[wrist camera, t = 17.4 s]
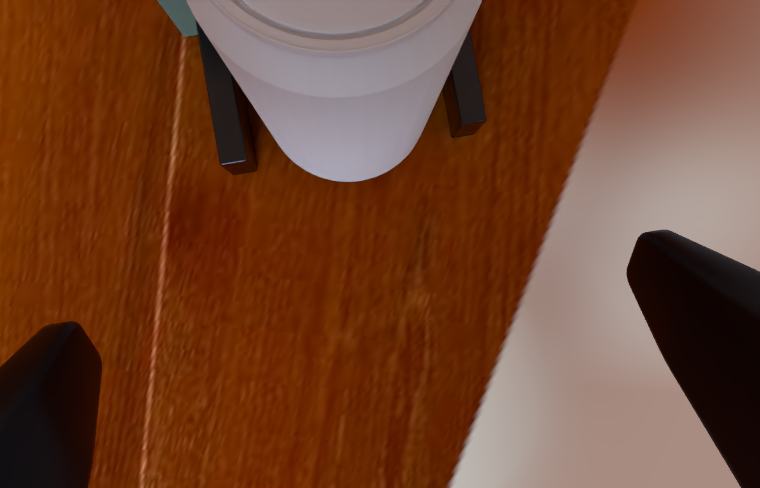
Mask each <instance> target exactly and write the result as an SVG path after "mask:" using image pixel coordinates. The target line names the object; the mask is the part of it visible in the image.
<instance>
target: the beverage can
mask: <svg viewBox="0 0 760 488" xmlns="http://www.w3.org/2000/svg"><path fill="white" fill-rule="evenodd" d="M186 1H187V3H188V5H189V7H190V9H191V11H192V13H193V15H194V17H195V19H196V20H197V22H198V23H199V25H200V26H201V28H202V29H203V31H204V33H205V34H206V36H207V37H208V39H209V40H210V42H211V43H212V45H213V46H214V48H215V49H216V51H217V52H218V54H219V55H220V57H221V58H222V60H223V61H224V63H225V64H226V66H227V67H228V69H229V70H230V72H231V73H232V75H233V77H234V78H235V80H236V81H237V83H238V84H239V86H240V87H241V89H242V90H243V92H244V93H245V95H246V96H247V98H248V99H249V101H250V102H251V104H252V105H253V107H254V108H255V110H256V111H257V113H258V114H259V116H260V117H261V119H262V121H263V122H264V124H265V125H266V127H267V128H268V130H269V131H270V133H271V134H272V136H273V137H274V139H275V140H276V142H277V143H278V145H279V146H280V148H281V149H282V150H283V152H284V153H285V154H286V155H287V156H288V157H289V158H290V159H291V160H292V161H293V162H294V163H296V164H297V165H298V166H300V167H301V168H303V169H304V170H306V171H308V172H310V173H312V174H314V175H316V176H319V177H322V178H325V179H329V180H333V181H341V182H354V181H362V180H366V179H370V178H374V177H376V176H379V175H381V174H383V173H385V172H387V171H389V170H391V169H392V168H394V167H395V166H396V165H398V164H399V163H400V162H401V161H402V160H403V159H404V158H405V157H406V156H407V155H408V154H409V153H410V152H411V151H412V149H413V148H414V146H415V144H416V143H417V141H418V139H419V137H420V136H421V134H422V132H423V129H424V127H425V125H426V123H427V121H428V118H429V116H430V114H431V112H432V110H433V108H434V105H435V103H436V101H437V99H438V97H439V94H440V92H441V90H442V88H443V86H444V83H445V81H446V79H447V77H448V75H449V72H450V70H451V68H452V66H453V64H454V61H455V59H456V57H457V55H458V53H459V50H460V48H461V46H462V44H463V42H464V39H465V37H466V35H467V33H468V31H469V28H470V26H471V24H472V22H473V20H474V17H475V15H476V13H477V11H478V9H479V6H480V4H481V2H482V0H186Z"/></svg>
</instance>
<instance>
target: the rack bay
mask: <svg viewBox="0 0 760 488" xmlns="http://www.w3.org/2000/svg"><path fill="white" fill-rule="evenodd" d="M157 1H158V2H159V3H160V5H161V6H162V8H163V9H164V10H165V12H166V13H167V14H168V16H169V17H170V18H171V20H172V21H173V22H174V24H175V25H176V26H177V28H178V29H179V30H180V32H181V33H182V34H183V36H184V37H187V36H193V35H198V38H199V44H200V50H201V56H202V62H203V68H204V74H205V79H206V85H207V91H208V97H209V103H210V109H211V115H212V120H213V126H214V132H215V138H216V144H217V150H218V156H219V162H220V165H221V166H222V167H224V168H225V169H226V170H228V171H229V172H230V173H232V174H233V175H237V174H243V173H249V172H255V171H257V166H256V160H255V154H254V148H253V143H252V137H251V131H250V125H249V119H248V114H247V108H246V102H245V96H244V92H243V90H242V89H241V87H240V86H239V84H238V83H237V81H236V80H235V78H234V77H233V75H232V73H231V72H230V70H229V69H228V67H227V66H226V64H225V63H224V61H223V60H222V58H221V57H220V55H219V54H218V52H217V51H216V49H215V48H214V46H213V45H212V43H211V42H210V40H209V39H208V37H207V36H206V34H205V33H204V31H203V29H202V28H201V26H200V25H199V23H198V22H197V20H196V19H195V17H194V15H193V13H192V11H191V9H190V7H189V5H188V3H187V1H186V0H157ZM442 90H443V95H444V100H445V105H446V111H447V116H448V121H449V127H450V132H451V137H452V138H455V137H461V136H467V135H473V134H475V133H476V132H477V131H478V130H479V128H480V127H481V126H482V125H483V124H484V123H485V121H486V120H487V118H486V113H485V108H484V103H483V98H482V93H481V87H480V82H479V77H478V72H477V67H476V61H475V56H474V51H473V46H472V41H471V35H470V30H469V31H468V33H467V35H466V37H465V39H464V42H463V44H462V46H461V48H460V50H459V53H458V55H457V57H456V59H455V61H454V64H453V66H452V68H451V70H450V72H449V75H448V77H447V79H446V81H445V83H444V86H443V88H442Z"/></svg>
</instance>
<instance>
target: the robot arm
mask: <svg viewBox="0 0 760 488" xmlns="http://www.w3.org/2000/svg"><path fill="white" fill-rule="evenodd" d="M627 279H628V282H629V285H630V287H631V289H632V292H633V293H634V296H635V298H636V300H637V302H638V304H639V307H640V309H641V311H642V313H643V315H644V317H645V320H646V322H647V324H648V326H649V328H650V330H651V332H652V335H653V337H654V339H655V341H656V343H657V345H658V347H659V349H660V351H661V353H662V355H663V357H664V359H665V361H666V363H667V365H668V366H669V368H670V370H671V372H672V373H673V375H674V377H675V378H676V380H677V382H678V383H679V385H680V387H681V388H682V390H683V392H684V393H685V395H686V397H687V398H688V400H689V402H690V403H691V405H692V407H693V408H694V410H695V412H696V413H697V415H698V417H699V418H700V420H701V422H702V423H703V425H704V427H705V428H706V430H707V431H708V433H709V435H710V437H711V438H712V440H713V442H714V443H715V445H716V447H717V448H718V450H719V452H720V453H721V455H722V457H723V458H724V460H725V462H726V463H727V465H728V467H729V468H730V470H731V472H732V473H733V475H734V476H735V478H736V480H737V482H738V483H739V485H740V487H741V488H760V272H759V271H757V270H755V269H753V268H751V267H748V266H746V265H744V264H742V263H740V262H737V261H735V260H733V259H731V258H729V257H726V256H724V255H722V254H720V253H718V252H715V251H713V250H711V249H709V248H707V247H705V246H702V245H700V244H698V243H696V242H693V241H691V240H689V239H687V238H685V237H683V236H680V235H678V234H676V233H674V232H672V231H669V230H657V231H651V232H645V233H643V234H641V235H640V236H639V237H638V239H637V242H636V244H635V247H634V250H633V253H632V256H631V258H630V261H629V264H628V267H627ZM101 374H102V362H101V357H100V355H99V353H98V351H97V350H96V348H95V347H94V345H93V343H92V342H91V340H90V339H89V337H88V336H87V334H86V333H85V331H84V330H83V328H82V327H81V326H80V324H78V323H77V322H73V321H69V322H62V323H56V324H50V325H47V326H45V327H43V328H42V329H40V330H39V331H38V332H37V333H36V334H35V335H34V336H33V337H32V338H31V339H30V340H29V341H27V342H26V343H25V344H24V345H23V346H22V347H21V348H20V349H19V350H18V351H17V352H16V353H15V354H14V355H12V356H11V357H10V358H9V359H8V360H7V361H6V362H5V363H4V364H3V365H2V366H1V367H0V488H88V483H89V479H90V473H91V468H92V463H93V455H94V447H95V437H96V426H97V416H98V406H99V395H100V385H101Z"/></svg>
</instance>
